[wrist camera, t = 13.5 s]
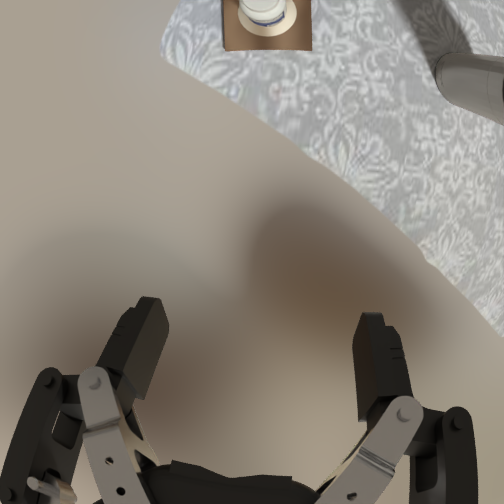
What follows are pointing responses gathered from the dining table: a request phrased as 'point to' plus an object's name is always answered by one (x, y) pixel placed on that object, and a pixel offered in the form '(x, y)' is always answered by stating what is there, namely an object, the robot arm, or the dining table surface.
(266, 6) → the pill bottle
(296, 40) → the rest board
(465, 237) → the dining table surface
